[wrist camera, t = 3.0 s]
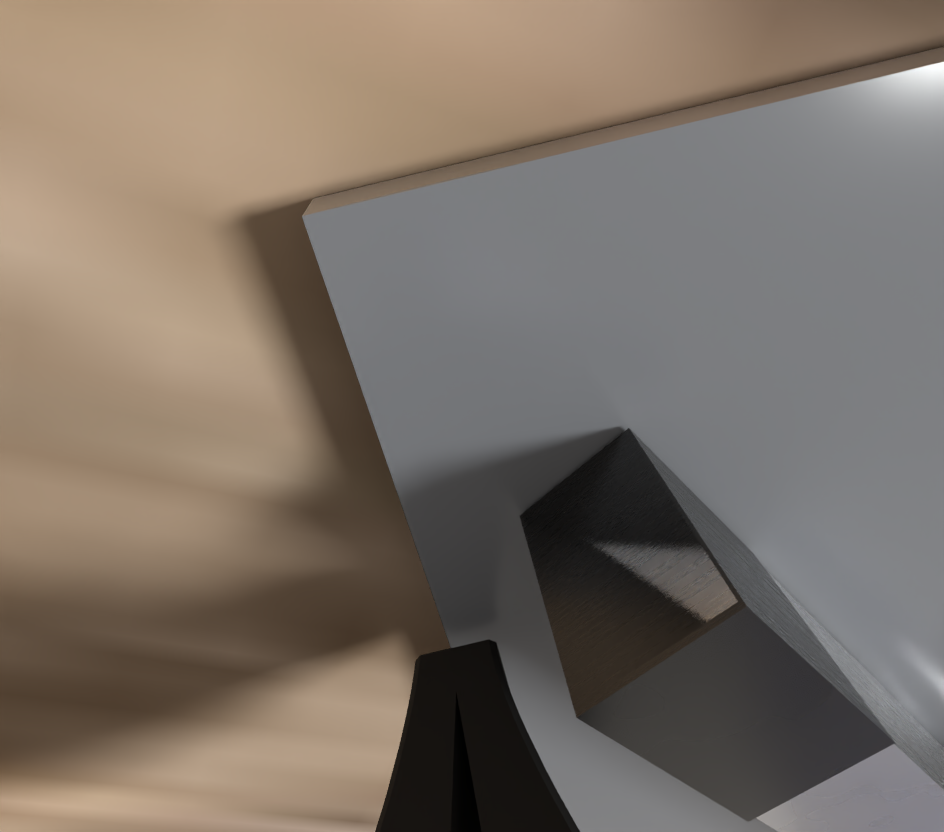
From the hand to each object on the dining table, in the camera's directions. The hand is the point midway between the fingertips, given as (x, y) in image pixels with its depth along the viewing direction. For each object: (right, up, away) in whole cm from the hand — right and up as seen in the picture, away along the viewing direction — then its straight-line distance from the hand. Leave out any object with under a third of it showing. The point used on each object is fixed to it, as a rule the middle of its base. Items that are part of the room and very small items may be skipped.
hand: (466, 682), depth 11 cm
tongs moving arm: (+8, -1, +3) cm, 9 cm away
